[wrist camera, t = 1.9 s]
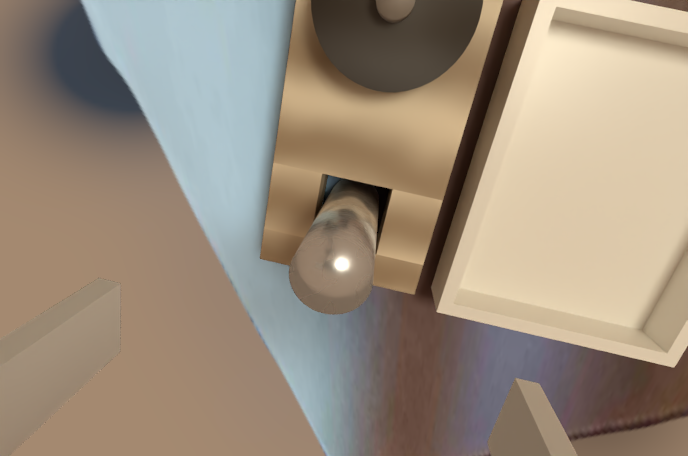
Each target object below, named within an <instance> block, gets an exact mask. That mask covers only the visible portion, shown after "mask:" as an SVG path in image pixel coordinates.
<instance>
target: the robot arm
mask: <svg viewBox="0 0 688 456" xmlns="http://www.w3.org/2000/svg"><path fill="white" fill-rule="evenodd" d="M120 319H121V283H118V282H114V281H109V280H105V279H101V278H98V279H96V280H95V281H93V282H92V283H90V284H88V285H87V286H85V287H83V288H82V289H80V290H79V291H77V292H75V293H74V294H72V295H70V296H69V297H67V298H66V299H64V300H62V301H61V302H59V303H57V304H56V305H54V306H53V307H51V308H49V309H48V310H46V311H45V312H43V313H41V314H40V315H38V316H36V317H35V318H33V319H32V320H30V321H28V322H27V323H25V324H23V325H22V326H20V327H19V328H17V329H15V330H14V331H12V332H11V333H9V334H7V335H6V336H4V337H2V338H1V339H0V456H10V455H11V454H12V453H13V452H14V451H15V450H16V449H17V448H18V447H19V446H21V445H22V444H23V443H24V442H25V441H26V440H27V439H28V438H29V437H30V436H31V435H32V434H33V433H34V432H35V431H37V430H38V429H39V428H40V427H41V426H42V425H43V424H44V423H45V422H46V421H47V420H48V419H49V418H50V417H51V416H52V415H53V414H55V413H56V412H57V411H58V410H59V409H60V408H61V407H62V406H63V405H64V404H65V403H66V402H67V401H68V400H69V399H70V398H72V397H73V396H74V395H75V394H76V393H77V392H78V391H79V390H80V389H81V388H82V387H83V386H84V385H85V384H86V383H87V382H89V381H90V379H92V378H93V377H94V376H95V375H96V374H97V373H98V372H99V371H100V370H101V369H102V368H103V367H104V366H105V365H107V364H108V363H109V362H110V361H111V360H112V359H113V358H114V357H115V356H116V355H117V354H118V353H119V352H120V328H121V327H120V326H121V324H120V323H121V320H120ZM487 443H488V446H489V450H490V453H491V456H578V455H577V453H576V452H575V450H574V448H573V446H572V444H571V442H570V440H569V438H568V437H567V435H566V433H565V431H564V429H563V427H562V425H561V423H560V422H559V420H558V418H557V416H556V414H555V412H554V410H553V409H552V407H551V405H550V403H549V401H548V399H547V397H546V395H545V394H544V392H543V390H542V388H541V386H540V384H538V383H534V382H530V381H526V380H522V379H517V378H515V380H514V382H513V384H512V387H511V389H510V391H509V394H508V396H507V398H506V400H505V403H504V405H503V407H502V410H501V412H500V414H499V417H498V419H497V421H496V423H495V426H494V428H493V430H492V433H491V435H490V437H489V440H488V442H487Z"/></svg>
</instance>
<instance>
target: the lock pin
mask: <svg viewBox="0 0 688 456" xmlns="http://www.w3.org/2000/svg"><path fill="white" fill-rule="evenodd" d="M378 212H379V195H378V192H377V190H376V188H375V186H374V185H371V184H367V183H362V182H358V181H353V180H349V179H342V180H340V181H339V182H338V183H337V184H336V185H335V186H334V188H333V189H332V191H331V193H330V195H329V196H328V198H327V200H326V201H325V203H324V205H323V207H322V208H321V210H320V212H319V213H318V215H317V217H316V219H315V220H314V222H313V224H312V226H311V227H310V229H309V231H308V232H307V234H306V236H305V238H304V239H303V241H302V243H301V244H300V246H299V248H298V250H297V251H296V253H295V255H294V257H293V258H292V261H291V263H290V268H289V279H290V284H291V287H292V289H293V291H294V293H295V294H296V296H297V297H298V298H299V299H300V300H301V301H302V302H303V303H304V304H305V305H306V306H308V307H309V308H311V309H313V310H315V311H318V312H321V313H325V314H343V313H347V312H350V311H352V310H354V309H356V308H357V307H359V306H360V305H361V304H362V303H363V302H364V301H365V300H366V299H367V297H368V296H369V294H370V292H371V289H372V286H373V279H374V265H375V252H376V238H377V225H378Z"/></svg>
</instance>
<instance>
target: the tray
mask: <svg viewBox="0 0 688 456" xmlns="http://www.w3.org/2000/svg"><path fill="white" fill-rule="evenodd" d="M431 290H432V294H433V298H434V303H435V307H436V312H439V313H443V314H447V315H452V316H456V317H460V318H465V319H469V320H473V321H477V322H482V323H486V324H490V325H494V326H499V327H503V328H507V329H512V330H516V331H520V332H524V333H529V334H533V335H537V336H541V337H546V338H550V339H554V340H559V341H563V342H567V343H571V344H576V345H580V346H584V347H588V348H593V349H597V350H601V351H606V352H610V353H614V354H618V355H623V356H627V357H631V358H636V359H640V360H644V361H648V362H653V363H657V364H661V365H665V366H670V367H675V365H676V364H677V362H678V361H679V359H680V357H681V356H682V354H683V352H684V351H685V349H686V347H687V346H688V12H685V11H680V10H675V9H670V8H665V7H660V6H655V5H650V4H645V3H640V2H636V1H631V0H522V2H521V5H520V8H519V12H518V15H517V18H516V21H515V24H514V27H513V30H512V34H511V37H510V40H509V43H508V46H507V49H506V52H505V56H504V59H503V62H502V65H501V68H500V71H499V75H498V78H497V81H496V84H495V87H494V90H493V93H492V97H491V100H490V103H489V106H488V109H487V112H486V115H485V119H484V122H483V125H482V128H481V131H480V134H479V138H478V141H477V144H476V147H475V150H474V153H473V156H472V160H471V163H470V166H469V169H468V172H467V175H466V179H465V182H464V185H463V188H462V191H461V194H460V197H459V201H458V204H457V207H456V210H455V213H454V216H453V219H452V223H451V226H450V229H449V232H448V235H447V238H446V242H445V245H444V248H443V251H442V254H441V257H440V260H439V264H438V267H437V270H436V273H435V276H434V279H433V282H432V286H431Z"/></svg>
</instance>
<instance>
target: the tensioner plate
mask: <svg viewBox="0 0 688 456" xmlns="http://www.w3.org/2000/svg"><path fill="white" fill-rule="evenodd" d="M502 3H503V0H296V4H295V11H294V19H293V26H292V33H291V40H290V47H289V54H288V62H287V69H286V76H285V83H284V90H283V97H282V104H281V112H280V119H279V126H278V133H277V140H276V147H275V154H274V162H273V169H272V176H271V183H270V190H269V197H268V204H267V212H266V219H265V226H264V233H263V240H262V247H261V254H260V259H263V260H268V261H272V262H276V263H281V264H285V265H289V266H290V263H291V261H292V258H293V257H294V255H295V253H296V251H297V250H298V248H299V246H300V244H301V243H302V241H303V239H304V238H305V236H306V234H307V232H308V231H309V229H310V227H311V226H312V224H313V222H314V220H315V219H316V217H317V215H318V213H319V212H320V210H321V208H322V204H323V199H324V194H325V189H326V183H327V178H328V175H331V176H336V177H340V178H344V179H349V180H353V181H358V182H362V183H367V184H371V185H376V186H380V187H385V188H389V192H388V196H387V200H386V204H385V208H384V212H383V216H382V220H381V224H380V228H379V232H378V236H377V238H376V252H375V265H374V279H373V285H375V286H379V287H384V288H388V289H392V290H397V291H401V292H405V293H409V294H415V290H416V287H417V284H418V280H419V277H420V274H421V271H422V267H423V264H424V261H425V257H426V254H427V251H428V247H429V244H430V241H431V237H432V234H433V231H434V228H435V224H436V221H437V218H438V214H439V211H440V208H441V204H442V201H443V198H444V195H445V191H446V188H447V185H448V181H449V178H450V175H451V171H452V168H453V165H454V161H455V158H456V155H457V152H458V148H459V145H460V142H461V138H462V135H463V132H464V128H465V125H466V122H467V119H468V115H469V112H470V109H471V105H472V102H473V99H474V95H475V92H476V89H477V85H478V82H479V79H480V76H481V72H482V69H483V66H484V62H485V59H486V56H487V52H488V49H489V46H490V43H491V39H492V36H493V33H494V29H495V26H496V23H497V19H498V16H499V13H500V9H501V6H502Z"/></svg>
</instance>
